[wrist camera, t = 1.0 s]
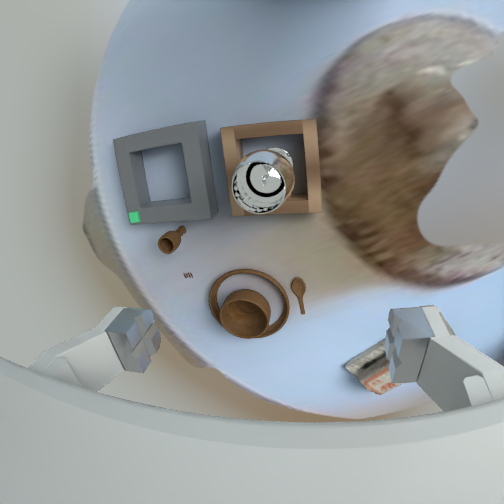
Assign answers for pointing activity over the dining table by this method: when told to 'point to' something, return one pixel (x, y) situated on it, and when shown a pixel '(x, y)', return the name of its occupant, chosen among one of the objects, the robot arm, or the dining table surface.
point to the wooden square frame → (306, 127)
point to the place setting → (241, 299)
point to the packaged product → (377, 366)
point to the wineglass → (264, 180)
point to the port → (196, 168)
